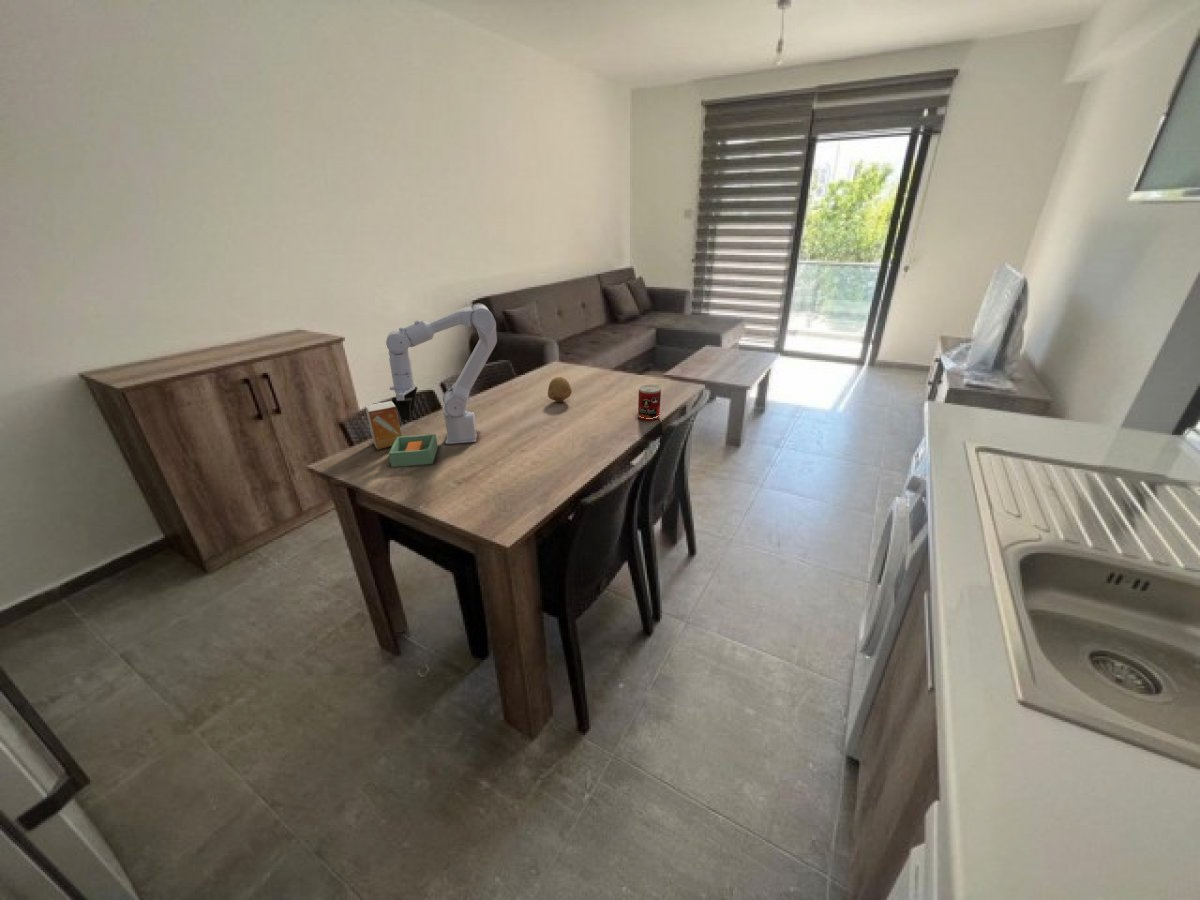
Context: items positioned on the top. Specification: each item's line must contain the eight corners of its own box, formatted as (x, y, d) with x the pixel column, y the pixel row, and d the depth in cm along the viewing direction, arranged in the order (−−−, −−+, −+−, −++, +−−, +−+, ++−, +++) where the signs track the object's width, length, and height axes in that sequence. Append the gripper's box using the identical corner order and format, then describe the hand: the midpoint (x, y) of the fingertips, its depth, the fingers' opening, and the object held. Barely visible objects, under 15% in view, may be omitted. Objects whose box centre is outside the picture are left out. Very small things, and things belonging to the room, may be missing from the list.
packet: (424, 449, 149) (422, 440, 148) (420, 459, 143) (418, 450, 141) (410, 450, 148) (408, 441, 147) (406, 460, 142) (404, 451, 141)
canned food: (635, 419, 171) (636, 390, 166) (641, 411, 178) (642, 383, 173) (655, 422, 168) (657, 393, 164) (661, 414, 175) (663, 386, 170)
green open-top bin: (437, 446, 152) (435, 434, 150) (432, 463, 142) (430, 450, 140) (399, 449, 150) (396, 436, 148) (391, 467, 140) (388, 453, 138)
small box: (377, 450, 150) (368, 411, 144) (373, 443, 154) (364, 405, 149) (404, 444, 154) (396, 406, 148) (399, 437, 158) (391, 400, 153)
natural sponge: (576, 400, 188) (576, 376, 184) (563, 407, 182) (562, 382, 177) (558, 396, 193) (557, 372, 188) (544, 403, 186) (543, 378, 182)
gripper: (392, 365, 148) (399, 407, 154) (382, 380, 135) (389, 424, 141) (416, 365, 149) (422, 406, 155) (408, 379, 137) (414, 423, 143)
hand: (408, 414), depth 148 cm, fingers open, 7 cm apart
